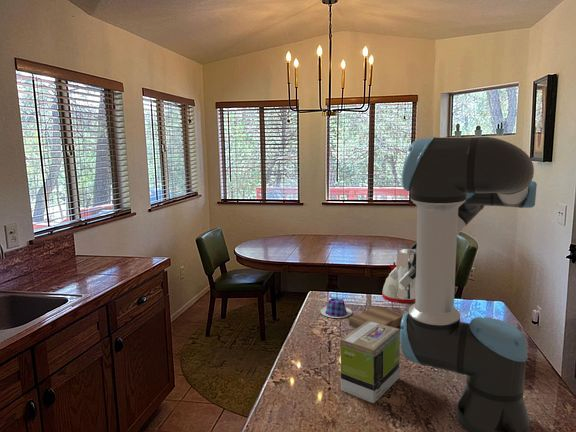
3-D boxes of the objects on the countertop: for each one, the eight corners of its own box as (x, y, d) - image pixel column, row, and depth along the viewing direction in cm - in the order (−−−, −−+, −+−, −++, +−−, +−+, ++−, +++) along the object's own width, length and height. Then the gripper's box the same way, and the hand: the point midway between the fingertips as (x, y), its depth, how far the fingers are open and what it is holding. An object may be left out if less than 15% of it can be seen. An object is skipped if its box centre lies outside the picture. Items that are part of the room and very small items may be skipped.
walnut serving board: (376, 336, 141) (376, 328, 140) (348, 325, 150) (349, 317, 149) (404, 323, 151) (404, 315, 150) (377, 313, 160) (377, 305, 159)
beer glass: (414, 292, 138) (415, 248, 136) (421, 300, 131) (422, 253, 129) (393, 293, 138) (394, 248, 136) (399, 300, 131) (400, 253, 129)
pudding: (355, 310, 164) (355, 297, 163) (347, 321, 153) (347, 308, 152) (325, 305, 169) (325, 293, 168) (316, 316, 158) (316, 303, 157)
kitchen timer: (388, 289, 186) (389, 256, 184) (419, 294, 179) (421, 260, 177) (377, 299, 174) (378, 264, 172) (411, 305, 167) (412, 269, 165)
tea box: (367, 367, 121) (368, 318, 119) (400, 379, 115) (402, 328, 113) (339, 390, 110) (339, 337, 107) (373, 405, 104) (375, 349, 101)
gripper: (472, 242, 125) (418, 299, 125) (438, 229, 144) (391, 279, 144) (456, 226, 123) (402, 283, 123) (424, 215, 142) (377, 264, 142)
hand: (396, 280), depth 133 cm, fingers closed on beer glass, 7 cm apart
